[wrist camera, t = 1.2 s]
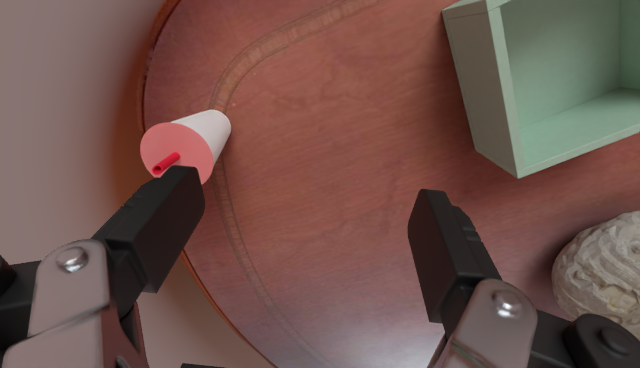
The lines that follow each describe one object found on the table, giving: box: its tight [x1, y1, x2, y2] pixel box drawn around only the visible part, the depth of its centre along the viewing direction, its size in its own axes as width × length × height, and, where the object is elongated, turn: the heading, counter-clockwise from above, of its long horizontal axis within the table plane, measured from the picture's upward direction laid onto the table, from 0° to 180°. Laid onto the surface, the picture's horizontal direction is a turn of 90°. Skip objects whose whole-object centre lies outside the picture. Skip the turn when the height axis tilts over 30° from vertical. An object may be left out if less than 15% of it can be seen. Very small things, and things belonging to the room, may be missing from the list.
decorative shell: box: [551, 211, 640, 341], centre depth 33 cm, size 18×18×10 cm
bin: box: [442, 0, 640, 179], centre depth 23 cm, size 15×15×7 cm
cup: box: [140, 110, 231, 185], centre depth 24 cm, size 5×5×12 cm
